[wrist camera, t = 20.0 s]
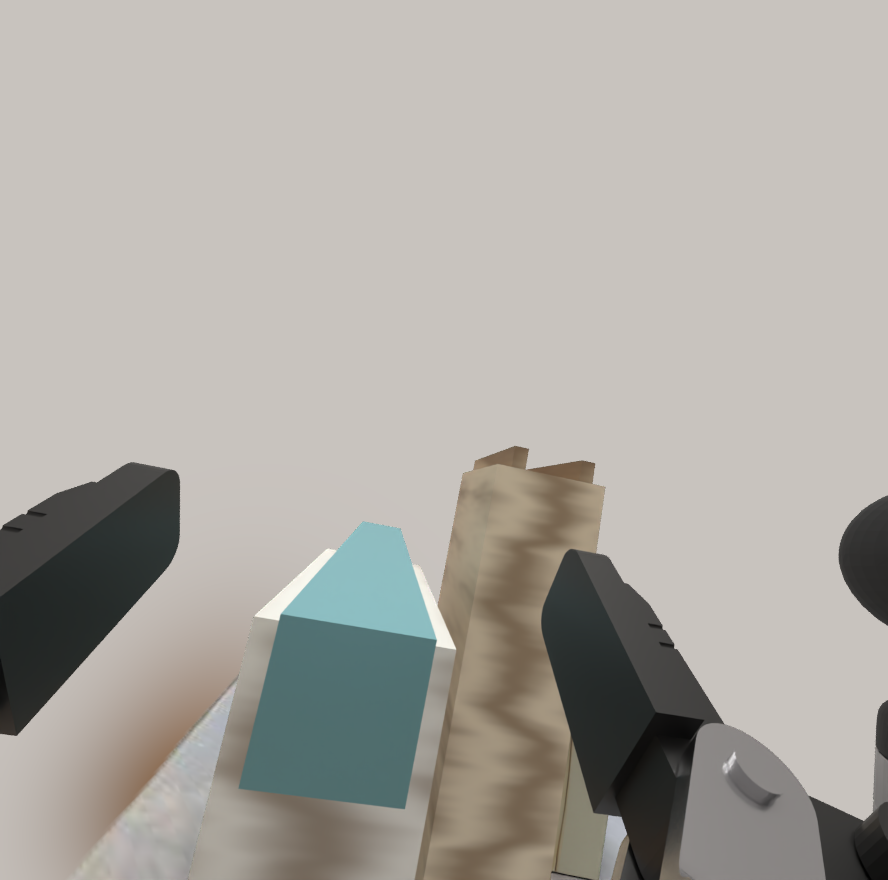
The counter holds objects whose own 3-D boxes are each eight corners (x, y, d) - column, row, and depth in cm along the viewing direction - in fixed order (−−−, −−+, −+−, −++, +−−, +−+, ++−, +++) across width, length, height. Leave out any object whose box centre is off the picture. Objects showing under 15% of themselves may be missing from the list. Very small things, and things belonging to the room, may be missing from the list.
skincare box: (529, 815, 39) (549, 678, 41) (576, 824, 40) (594, 686, 41) (548, 875, 33) (571, 710, 35) (604, 885, 33) (624, 720, 35)
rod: (392, 566, 33) (400, 528, 34) (404, 809, 8) (436, 639, 8) (354, 559, 33) (363, 521, 34) (237, 788, 8) (280, 613, 8)
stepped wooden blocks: (485, 805, 40) (539, 474, 44) (644, 1313, 15) (729, 451, 20) (280, 778, 38) (359, 436, 42) (78, 1313, 13) (318, 357, 18)
